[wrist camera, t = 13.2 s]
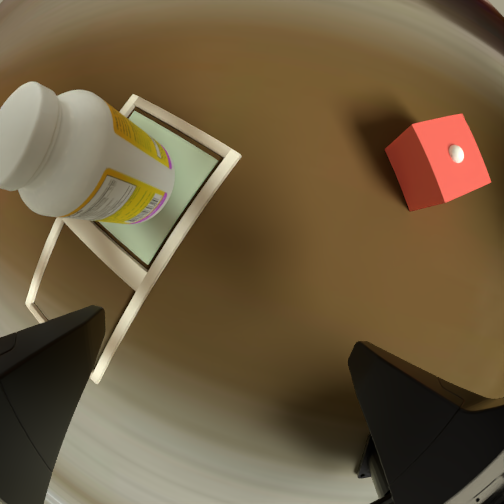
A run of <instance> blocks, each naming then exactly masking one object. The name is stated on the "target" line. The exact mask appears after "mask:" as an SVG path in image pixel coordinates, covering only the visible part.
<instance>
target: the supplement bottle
mask: <svg viewBox="0 0 504 504" xmlns="http://www.w3.org/2000/svg"><path fill="white" fill-rule="evenodd" d="M174 182H175V169H174V164H173V161H172V158H171V156H170V154H169V153H168V151H167V150H166V149H165V148H164V147H163V146H162V145H161V144H160V143H158V142H157V141H156V140H155V139H153V138H152V137H151V136H150V135H148V134H147V133H146V132H145V131H143V130H142V129H141V128H139V127H138V126H137V125H135V124H134V123H133V122H131V121H130V120H129V119H127V118H126V117H125V116H124V115H122V114H121V113H120V112H118V111H117V110H116V109H114V108H113V107H112V106H111V105H109V104H108V103H107V102H105V101H104V100H103V99H101V98H100V97H99V96H97V95H96V94H94V93H92V92H89V91H86V90H72V91H68V92H65V93H62V94H60V95H58V96H56V95H55V93H54V92H53V91H52V90H50V89H49V88H47V87H45V86H43V85H41V84H39V83H37V82H28V83H26V84H23V85H22V86H20V87H19V88H18V89H17V90H16V91H14V92H13V93H12V95H11V96H10V97H9V98H8V99H7V100H6V102H5V103H4V104H3V106H2V107H1V109H0V188H1V189H6V190H9V191H14V190H17V189H18V191H19V194H20V196H21V198H22V200H23V201H24V203H25V204H26V205H27V206H28V207H29V208H30V209H31V210H32V211H34V212H35V213H37V214H40V215H44V216H51V217H61V218H71V219H81V220H90V221H100V222H109V223H119V224H138V223H142V222H145V221H147V220H149V219H151V218H152V217H154V216H155V215H156V214H157V213H159V212H160V211H161V210H162V208H163V207H164V206H165V204H166V203H167V201H168V200H169V198H170V196H171V193H172V190H173V187H174Z"/></svg>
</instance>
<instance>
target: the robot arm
mask: <svg viewBox="0 0 504 504" xmlns="http://www.w3.org/2000/svg"><path fill="white" fill-rule="evenodd" d="M104 335H105V311H104V309H103V308H102V307H99V306H95V305H91V306H89V307H86V308H83V309H80V310H77V311H74V312H72V313H69V314H66V315H63V316H60V317H57V318H55V319H52V320H49V321H46V322H43V323H41V324H38V325H35V326H32V327H29V328H26V329H24V330H21V331H18V332H17V333H12V334H9V335H7V336H4V337H1V338H0V504H44V500H45V496H46V493H47V489H48V486H49V482H50V479H51V476H52V472H53V469H54V466H55V463H56V460H57V457H58V454H59V451H60V448H61V445H62V442H63V440H64V437H65V434H66V432H67V429H68V426H69V424H70V421H71V419H72V416H73V414H74V411H75V409H76V407H77V404H78V402H79V400H80V397H81V395H82V393H83V390H84V388H85V386H86V384H87V381H88V379H89V377H90V375H91V373H92V370H93V367H94V365H95V361H96V358H97V355H98V352H99V349H100V347H101V344H102V341H103V338H104ZM348 366H349V370H350V373H351V377H352V380H353V384H354V388H355V392H356V395H357V398H358V401H359V403H360V406H361V409H362V411H363V414H364V417H365V419H366V422H367V425H368V427H369V430H370V434H369V436H368V439H367V443H366V447H365V450H364V454H363V457H362V460H361V463H360V466H359V470H358V473H357V476H358V478H366V477H372V480H373V482H374V485H375V488H376V491H377V494H378V497H379V499H378V500H376V501H374V502H372V503H370V504H504V397H503V398H499V399H490V398H486V397H483V396H481V395H478V394H476V393H473V392H471V391H468V390H466V389H463V388H461V387H458V386H456V385H454V384H452V383H449V382H447V381H445V380H443V379H441V378H439V377H436V376H435V375H433V374H431V373H429V372H427V371H425V370H423V369H421V368H419V367H416V366H414V365H412V364H410V363H408V362H406V361H404V360H402V359H401V358H399V357H397V356H395V355H393V354H391V353H389V352H387V351H385V350H383V349H381V348H379V347H377V346H375V345H373V344H371V343H369V342H367V341H358V342H356V344H355V345H354V348H353V350H352V352H351V354H350V357H349V359H348Z"/></svg>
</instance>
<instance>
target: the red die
mask: <svg viewBox="0 0 504 504" xmlns="http://www.w3.org/2000/svg"><path fill="white" fill-rule="evenodd" d="M384 150H385V152H386V154H387V156H388V158H389V160H390V163H391V165H392V167H393V170H394V172H395V174H396V177H397V179H398V182H399V184H400V187H401V189H402V192H403V194H404V197H405V200H406V202H407V205H408V208H409V211H414V210H418V209H422V208H426V207H430V206H434V205H438V204H442V203H446V202H448V201H450V200H453V199H455V198H457V197H460V196H462V195H464V194H466V193H469V192H471V191H473V190H475V189H478V188H480V187H482V186H484V185H487V184H489V183H491V180H490V177H489V174H488V172H487V169H486V166H485V164H484V161H483V158H482V156H481V154H480V151H479V149H478V146H477V144H476V142H475V140H474V137H473V135H472V133H471V131H470V129H469V127H468V125H467V123H466V121H465V119H464V117H463V115H462V114H457V115H452V116H447V117H442V118H437V119H433V120H428V121H424V122H420V123H415V124H412V125H411V126H409V127H408V128H407V129H406V130H405V131H404V132H403V133H402V134H401V135H400V136H398V137H397V138H396V139H395V140H394V141H393V142H392V143H391V144H390V145H389V146H388V147H386V148H385V149H384Z"/></svg>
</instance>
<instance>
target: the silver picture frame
mask: <svg viewBox="0 0 504 504" xmlns="http://www.w3.org/2000/svg"><path fill="white" fill-rule="evenodd" d="M135 106H136V107H138V108H140V109H141V110H143V111H145V112H147V113H149V114H151V115H152V116H154V117H156V118H158V119H159V120H161V121H163V122H165V123H166V124H168V125H170V126H172V127H173V128H175V129H177V130H179V131H180V132H182V133H184V134H185V135H187V136H189V137H190V138H192V139H194V140H195V141H197V142H199V143H200V144H202V145H204V146H205V147H207V148H208V149H210V150H212V151H213V152H215V153H216V154H218V155H220V156H221V157H223V158H224V159H223V161H222V162H221V163H220V165H219V166H218V167H217V169H216V170H215V171H214V173H213V174H212V176H211V177H210V178H209V180H208V181H207V183H206V184H205V185H204V187H203V188H202V190H201V191H200V192H199V194H198V195H197V197H196V198H195V200H194V201H193V202H192V204H191V205H190V207H189V208H188V210H187V211H186V213H185V214H184V216H183V217H182V219H181V220H180V222H179V223H178V225H177V226H176V228H175V229H174V231H173V232H172V234H171V235H170V237H169V238H168V240H167V242H166V243H165V245H164V246H163V248H162V249H161V251H160V253H159V254H158V256H157V257H156V259H155V261H154V262H153V264H152V266H151V267H150V269H149V271H148V270H147V269H146V268H145V267H143V266H142V265H141V264H140V263H139V262H138V261H136V260H135V259H134V258H133V257H132V256H131V255H129V254H128V253H127V252H126V251H125V250H124V249H123V248H121V247H120V246H119V245H118V244H117V243H116V242H115V241H114V240H113V239H111V238H110V237H109V236H108V235H107V234H106V233H105V232H104V231H103V230H102V229H101V228H99V227H98V226H97V225H96V224H95V223H94V222H93V221H90V220H81V219H71V218H61V217H57V218H56V220H55V222H54V225H53V227H52V229H51V231H50V234H49V236H48V239H47V241H46V244H45V246H44V249H43V251H42V254H41V256H40V259H39V262H38V265H37V268H36V270H35V273H34V276H33V280H32V283H31V286H30V289H29V292H28V296H27V299H26V303H25V304H26V306H27V307H28V308H29V310H30V311H31V312H32V314H33V315H34V316H35V318H36V319H37V320H38V321H39V323H40V324H41V323H43V322H46V321H48V320H47V319H46V318H45V316H44V315H43V314H42V313H41V311H40V310H39V309H38V308H37V306H36V305H35V304H34V300H35V297H36V294H37V291H38V287H39V284H40V282H41V279H42V276H43V273H44V270H45V268H46V265H47V262H48V260H49V257H50V255H51V252H52V250H53V247H54V245H55V243H56V240H57V238H58V236H59V233H60V231H61V229H62V227H63V225H64V222H65V223H66V224H67V226H68V227H69V228H70V229H71V230H72V231H73V232H74V233H75V234H76V235H77V236H78V237H79V238H80V239H81V240H82V241H83V242H84V243H85V244H86V245H87V246H88V247H89V248H90V249H91V250H92V251H93V252H94V253H95V254H96V255H97V256H98V257H99V258H100V259H101V260H102V261H103V262H104V263H105V264H106V265H107V266H108V267H109V268H110V269H112V270H113V271H114V272H115V273H116V274H117V275H118V276H119V277H120V278H121V279H122V280H124V281H125V282H126V283H127V284H128V285H129V286H130V287H131V288H133V289H134V290H135V291H136V293H135V294H134V296H133V298H132V300H131V301H130V303H129V305H128V307H127V308H126V310H125V312H124V314H123V316H122V317H121V319H120V321H119V323H118V325H117V327H116V329H115V330H114V332H113V334H112V336H111V338H110V340H109V342H108V344H107V346H106V348H105V350H104V352H103V354H102V356H101V358H100V360H99V362H98V364H97V366H96V368H95V370H92V373H91V375H90V377H89V378H90V379H92V380H93V381H94V382H95V383H96V384H98V383H99V382H100V380H101V378H102V376H103V374H104V372H105V370H106V368H107V366H108V364H109V363H110V361H111V359H112V357H113V355H114V353H115V351H116V350H117V348H118V346H119V344H120V342H121V340H122V339H123V337H124V335H125V333H126V332H127V330H128V328H129V326H130V325H131V323H132V321H133V319H134V318H135V316H136V314H137V312H138V311H139V309H140V307H141V306H142V304H143V302H144V301H145V299H146V297H147V296H148V294H149V292H150V291H151V289H152V287H153V286H154V284H155V282H156V281H157V279H158V278H159V276H160V274H161V273H162V271H163V270H164V268H165V266H166V265H167V263H168V262H169V260H170V259H171V257H172V255H173V254H174V252H175V251H176V249H177V248H178V246H179V245H180V243H181V242H182V240H183V239H184V237H185V236H186V234H187V233H188V231H189V230H190V228H191V227H192V225H193V224H194V222H195V221H196V219H197V218H198V216H199V215H200V213H201V212H202V211H203V209H204V208H205V206H206V205H207V203H208V202H209V201H210V199H211V198H212V196H213V195H214V194H215V192H216V191H217V189H218V188H219V187H220V185H221V184H222V182H223V181H224V180H225V178H226V177H227V176H228V174H229V173H230V171H231V170H232V169H233V167H234V166H235V165H236V163H237V162H238V161H239V159H240V158H241V157H242V156H241V154H239V153H238V152H236V151H234V150H233V149H231V148H230V147H228V146H226V145H225V144H223V143H221V142H220V141H218V140H216V139H215V138H213V137H211V136H210V135H208V134H206V133H205V132H203V131H201V130H199V129H198V128H196V127H194V126H193V125H191V124H189V123H187V122H185V121H184V120H182V119H180V118H178V117H176V116H175V115H173V114H171V113H169V112H167V111H165V110H164V109H162V108H160V107H158V106H156V105H154V104H152V103H150V102H148V101H146V100H144V99H143V98H141V97H139V96H137V95H135V94H133V95H132V96H131V97H130V98H129V100H128V101H127V102H126V104H125V105H124V106H123V108H122V109H121V110H120V113H121V114H122V115H124V116H125V117H126V118H127V117H128V116H129V114H130V113H131V112H132V110H133V109H134V108H135ZM129 120H130V121H131V122H133V123H134V124H135V125H137V126H138V127H139V128H141V129H142V130H143V131H145V132H146V133H147V134H148V135H150V136H151V137H152V138H153V139H155V140H156V141H157V142H158V143H160V144H161V145H162V146H163V147H164V148H165V149H166V150H167V151H168V153H169V154H170V156H171V158H172V161H173V164H174V169H175V182H174V187H173V190H172V193H171V196H170V198H169V200H168V201H167V203H166V204H165V206H164V207H163V208H162V210H161V211H160V212H159V213H157V214H156V215H155V216H154V217H152V218H151V219H149V220H147V221H145V222H142V223H138V224H119V223H109V222H100V221H98V222H99V223H101V224H102V225H103V226H104V227H105V228H106V229H107V230H108V231H109V232H110V233H112V234H113V235H114V236H115V237H116V238H117V239H118V240H119V241H120V242H122V243H123V244H124V245H125V246H126V247H127V248H128V249H130V250H131V251H132V252H133V253H134V254H135V255H137V256H138V257H139V258H140V259H141V260H142V261H144V262H145V263H146V264H147V265H149V264H150V262H151V260H152V259H153V257H154V255H155V254H156V252H157V251H158V249H159V247H160V246H161V244H162V243H163V241H164V239H165V238H166V236H167V235H168V233H169V232H170V230H171V229H172V227H173V226H174V224H175V223H176V221H177V219H178V218H179V216H180V215H181V213H182V212H183V211H184V209H185V208H186V206H187V205H188V203H189V202H190V200H191V199H192V197H193V196H194V195H195V193H196V192H197V190H198V189H199V187H200V186H201V185H202V183H203V182H204V180H205V179H206V178H207V176H208V175H209V173H210V172H211V171H212V169H213V168H214V167H215V165H216V164H217V163H218V160H216V159H215V158H213V157H212V156H210V155H209V154H207V153H205V152H204V151H202V150H201V149H199V148H197V147H196V146H194V145H192V144H191V143H189V142H188V141H186V140H184V139H183V138H181V137H179V136H178V135H176V134H174V133H173V132H171V131H169V130H167V129H166V128H164V127H162V126H161V125H159V124H157V123H155V122H154V121H152V120H150V119H149V118H147V117H145V116H143V115H141V114H140V113H138V112H136V111H134V112H133V113H132V115H131V116H130V117H129Z"/></svg>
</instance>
